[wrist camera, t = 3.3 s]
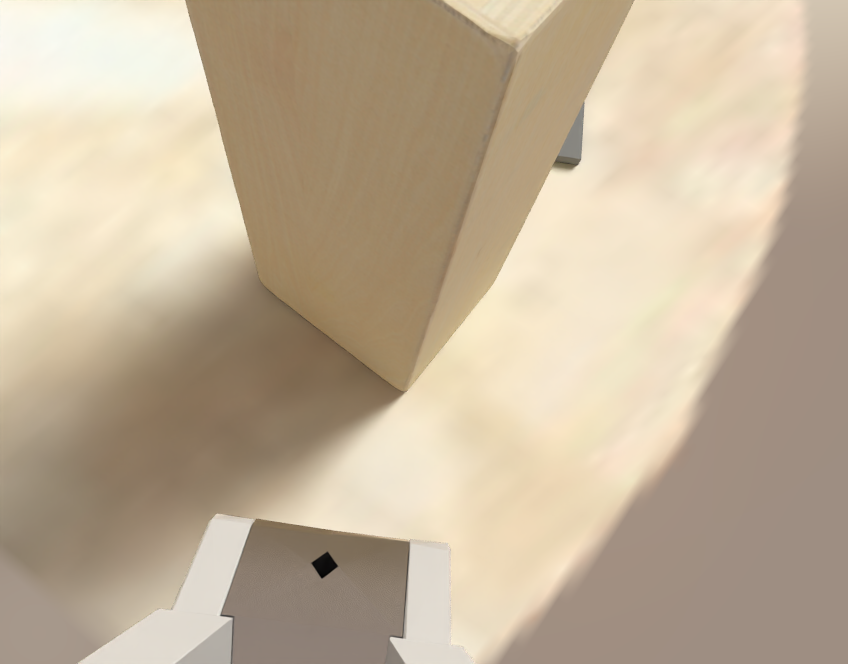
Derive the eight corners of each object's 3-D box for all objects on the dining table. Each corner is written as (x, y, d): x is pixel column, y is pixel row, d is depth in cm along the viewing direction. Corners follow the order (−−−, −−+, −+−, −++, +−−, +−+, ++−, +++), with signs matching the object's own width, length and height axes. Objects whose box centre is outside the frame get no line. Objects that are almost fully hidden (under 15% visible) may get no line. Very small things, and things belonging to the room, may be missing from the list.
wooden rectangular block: (510, 271, 33) (744, -201, 13) (408, 399, 31) (507, 59, 11) (368, 167, 34) (390, -413, 14) (258, 284, 32) (107, -214, 12)
